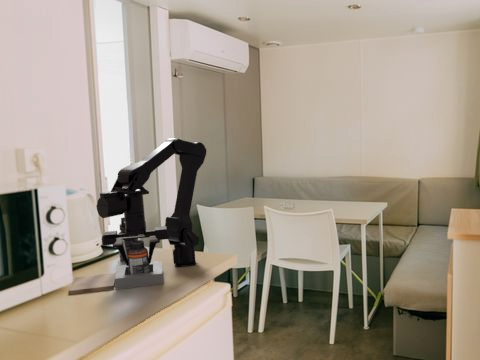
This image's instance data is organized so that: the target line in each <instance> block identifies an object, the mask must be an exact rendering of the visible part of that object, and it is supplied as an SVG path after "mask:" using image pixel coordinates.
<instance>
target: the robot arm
mask: <svg viewBox="0 0 480 360" xmlns="http://www.w3.org/2000/svg"><path fill="white" fill-rule="evenodd" d="M173 155H178V156H179V157H178V160H179V163H180V166H181V172H180V179H179V184H178V189H177V194H176V199H175V204H174V205H175V206H174V211H173V213H172V214H171V216H167V217H166V218H165V223H164V226H155V227H154V229H153V230H147V222H146V216H145V215H146V213H145V206H144V205H145V202H144V195H149V194H150V191H149V190H148V189H146V188H145V187H144V186H145V184H146V183H147V182H148V181H149V180H150V177H151V174H153V172H154V171H155V170H156V169H158V168H159V167H160V166H161V165H163V163H165V162H166V161H167V160H168V159H170V158H171V157H172V156H173ZM206 156H207V148H206V146H205V144H203V142H199V141H198V142H197V141H196V142H194V141H193V142H191V141H187V140H183V139H180V138H177V137H176V138H174V137H173V138H167V139H166V140H164V142H163V143H162V144H161V145H159V146H158V147H156V148H155V149H154V150H153V151H151V152H150V153H148V154H147V155H146V156H145V157H143V158H142V159H141V160H139V161H137V162H135V163H134V162H133V163H132V164H129V165H126V166H125V167H123V168H121V169H120V170H118V173H117V178H116V180H115V181H114V184H113V186H112V188H111V190H110V192H100V193H99V198H97V201H96V211H97V214H98V215H99V216H100V218H102V219H106V218H111V217H115V216H120V215H124V217H120V224H121V227H122V229H125V230H126V233H122V234H119V233H118V230H113V231H112V230H111V231H104V233H103V234H102V236H101V244H102V246H112V248H116V249H117V250H118V253H119V252H120V253H121V255H122V257H123V259H124V264H125V265H127V266H128V257H127V253H126V248H125V242H124V240H128V239H138V240H139V239H146V238H149V241H148V242H149V245H148V257H149V264H150V263H151V262H152V258H153V254H154V251H155V248H156V246H157V244H160V243H161V240H167V241H168V244H169V245H171V246H173V249H172V261H173V264H174V266H175V268H179V267H180V268H181V267H188V266H196V265H197V260H196V250H195V247H196V246H198V245H199V244H200V243H199V242H200V237H199V236H197V234H195V232H193V222H192V219H191V209H192V204H193V203H192V202H193V197H194V192H195V186H196V181H197V175H198V171H199V169H200V168H201V167H202V166H203V164H204V162H205V160H206Z"/></svg>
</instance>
